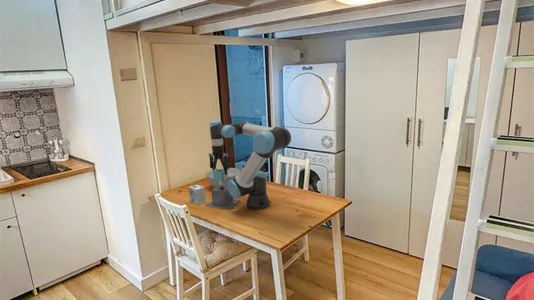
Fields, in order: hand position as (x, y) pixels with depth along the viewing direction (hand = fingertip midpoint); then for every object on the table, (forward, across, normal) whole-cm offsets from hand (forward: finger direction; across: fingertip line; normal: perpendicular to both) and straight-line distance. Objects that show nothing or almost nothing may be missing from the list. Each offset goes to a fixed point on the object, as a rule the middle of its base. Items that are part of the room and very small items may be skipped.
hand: (220, 178), depth 219 cm
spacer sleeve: (0, 0, 0) cm, 0 cm away
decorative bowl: (+18, -18, +30) cm, 39 cm away
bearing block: (+18, 0, 0) cm, 18 cm away
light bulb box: (+18, -20, -1) cm, 27 cm away
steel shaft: (+11, 0, 0) cm, 11 cm away
